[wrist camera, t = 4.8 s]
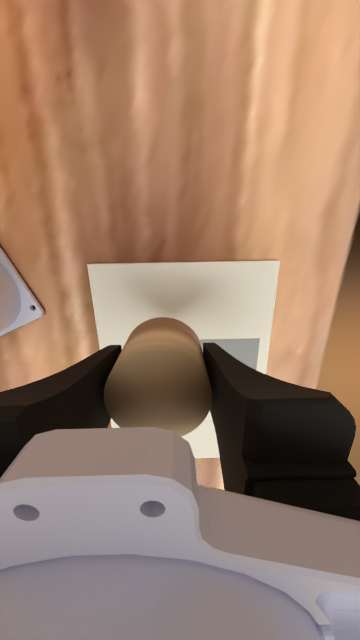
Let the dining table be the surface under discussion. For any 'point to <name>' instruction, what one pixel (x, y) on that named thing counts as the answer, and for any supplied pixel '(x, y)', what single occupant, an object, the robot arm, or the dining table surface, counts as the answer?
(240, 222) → the dining table surface
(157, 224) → the dining table surface
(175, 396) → the maple drum
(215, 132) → the dining table surface
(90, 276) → the baseplate
